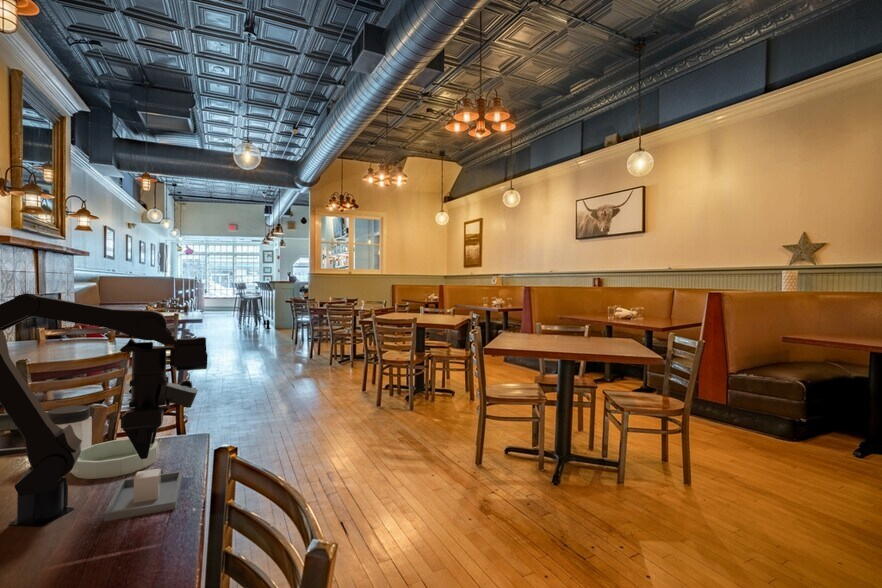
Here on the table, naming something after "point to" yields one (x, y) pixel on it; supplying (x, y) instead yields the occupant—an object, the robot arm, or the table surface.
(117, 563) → the table surface
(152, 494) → the block
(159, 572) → the table surface
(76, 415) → the lidded white canister
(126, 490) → the parts tray
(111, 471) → the bowl
